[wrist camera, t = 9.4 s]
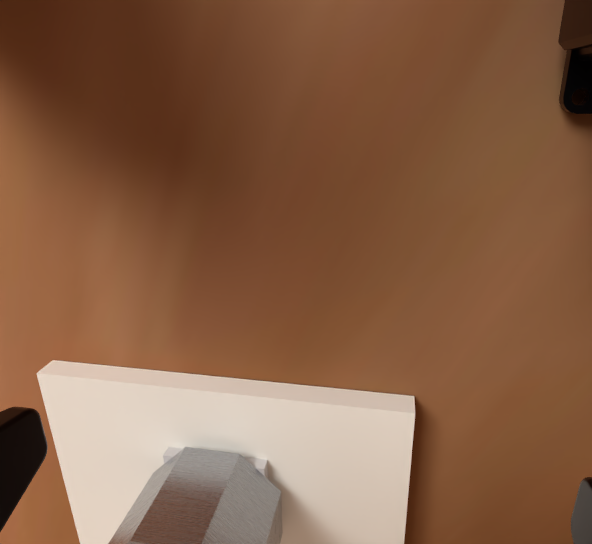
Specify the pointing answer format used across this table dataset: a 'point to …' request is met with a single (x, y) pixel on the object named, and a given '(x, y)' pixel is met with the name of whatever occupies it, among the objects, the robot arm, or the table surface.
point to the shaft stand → (233, 446)
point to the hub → (204, 503)
